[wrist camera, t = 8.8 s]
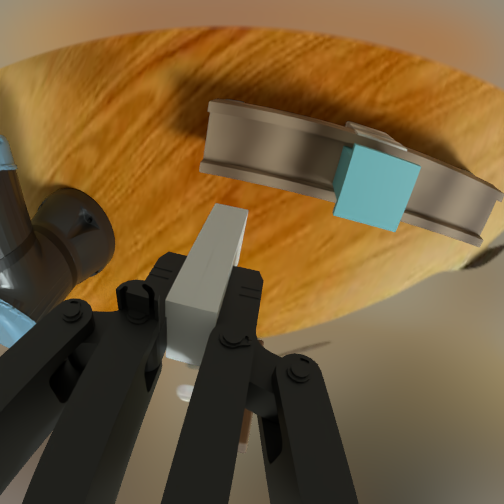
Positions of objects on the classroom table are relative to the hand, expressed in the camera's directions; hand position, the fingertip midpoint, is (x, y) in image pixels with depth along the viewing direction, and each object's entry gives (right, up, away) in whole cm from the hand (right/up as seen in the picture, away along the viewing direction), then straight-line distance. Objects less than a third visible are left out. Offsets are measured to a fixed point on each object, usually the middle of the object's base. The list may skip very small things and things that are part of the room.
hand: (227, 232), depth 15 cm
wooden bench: (+13, +10, +20) cm, 26 cm away
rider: (+12, +7, +14) cm, 19 cm away
